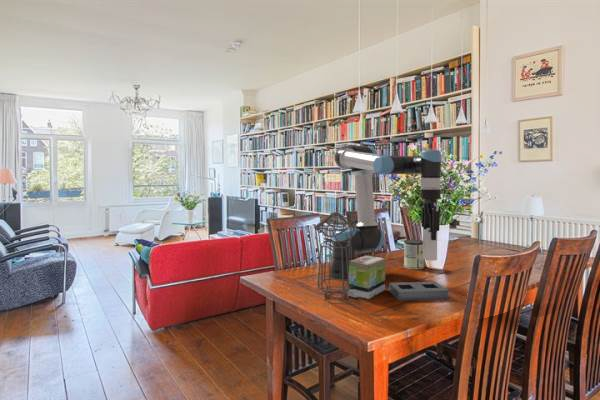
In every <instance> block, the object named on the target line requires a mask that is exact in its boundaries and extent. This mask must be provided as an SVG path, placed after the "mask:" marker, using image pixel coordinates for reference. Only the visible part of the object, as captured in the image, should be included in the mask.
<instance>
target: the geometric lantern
mask: <svg viewBox="0 0 600 400" xmlns="http://www.w3.org/2000/svg"><path fill="white" fill-rule="evenodd" d="M329 220H330V221H329ZM339 220H340V222H339ZM357 223H358V222H356V221H354V220H352V219H350V218H349V217H346V216H345V215H342V214H341V213H339V211H338V212H337V211H332V212H331V213H329V215H327V216H326V217H325V218H324V219H322V220H320V222H318V223H317V224H316V225H314V226H313V229H314V230H316V231H317V235H318V242H319V257H318V259H319V260H318V275H317V288H318V289H319V290H320V291H322V292H323V293H324V296H323V297H324V298H327V299H328V298H329V299H330V298H331V299H342V300H343V299H345V298H346V296H347V295H348V290H349V289H350V288H351V286H350V287H349V273H348V258H347V247H348V246H349V261H350V252H351V260H352V248H351V239H352V234H353V232H354V229H355V227H356V224H357ZM325 224H326V225H327V226H326V227H324V225H325ZM339 225H342V228H343V229H339V228H338V227H339ZM329 227H331V228H333V229H329ZM344 227H346V228H345V229H344ZM348 228H350V237H351V238H348V236H347V235H346V236H347V238H348V241H338V240H337V238H336V237H335V236H337V235H339V234H341V233H343V232H345V231H346V230H349V229H348ZM352 228H353V231H352ZM324 230H325V231H324ZM336 231H342V232H340V233H338V234H336V235H334V234H335V232H336ZM328 232H332V235H328ZM322 233H323V235H324V237H325V240H324V241H323V242H322V243H321V236H320V234H322ZM345 234H346V233H345ZM333 237H335V239H336V240H337V241H334V242H338V243H339V242H348V243H347V246H346V247H342V246H341V244H340V243H339V245H340V247H333V245H332V238H333ZM328 243H329V245H328ZM323 248H325V249H323ZM327 248H329V250H328V252H329V257H328V259H329V261H328V263H329V264H328V278H326V267H327V266H326V265H327ZM333 248H341V254H342V279H339V278H332V277H331V276H330V267H331V258H332V256H331V253H332V251H331V249H333ZM343 248H346V263H347V279H344V273H343ZM323 250H324V251H323ZM323 253H324V254H323ZM323 257H324V258H323ZM323 259H324V260H323ZM323 262H324V264H323ZM323 266H324V267H323ZM320 273H321V274H320ZM320 277H321V279H320ZM320 280H321V281H320ZM330 280H331V281H340V282H342V286H338V288H337V285H335V286H334V285H333V286H331V283H330ZM326 281H327V282H328V284H327V282H326ZM345 282H346V284H345ZM323 283H324V285H325V286H326V287H323ZM339 288H340V289H339ZM329 291H331V292H329ZM328 294H332V295H333V294H334V295H341V297H339V296H337V297H335V296H328Z"/></svg>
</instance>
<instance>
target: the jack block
mask: <svg viewBox="0 0 600 400" xmlns="http://www.w3.org/2000/svg"><path fill="white" fill-rule="evenodd" d="M388 291H389V293H390V294H391V295H392V296H393V297H394V298H395V299H396V300H397V301H398V302H401V301H404V302H406V301H430V300H431V301H433V300H437V301H438V300H449V297H450V296H449V289H447V288H446V287H444V285H441V284H440V283H439V282H437V281H412V282H411V281H409V282H407V281H405V282H404V281H403V282H389V283H388Z"/></svg>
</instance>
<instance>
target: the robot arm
mask: <svg viewBox="0 0 600 400" xmlns="http://www.w3.org/2000/svg"><path fill="white" fill-rule="evenodd" d="M334 162H335V164H336V166H338V167H339V168H342V169H348V170H349V169H350V170H351V174H352V175H353V176H354V183H355V198H356V199H355V200H356V213H357V222H356V223H357V224H356V227H355V229H354V232H353V234H352V239H351V248H352V260H354V259H357V254H359V253H368V252H370V253H371V252H376V251H379V250H380V249H381V248H382V247H383V245H384V242H385V233H384V232H383V229H381V228H380V227H379V224H378V223H377V222H376V215H375V204H374V190H373V188H374V187H373V177H372V176H373V173H376V174H377V175H383V176H386V175H420V188H421V190H420V198H421V199H423V200H424V202H423V203H421V204H420V209H421V228H422V230H423V229H427V228H430V230H429V231H428V232H429V248H436V232H437V233H438V231H439V232H440V223H441V222H440V221H441V219H440V216H441V206H440V205H438V201H437V200H439V199H441V193H442V192H441V183H442V179H441V178H442V177H441V176H442V152H441V151H440V149H424V150H422V151H421V153H420V155H387V154H378V152H377V150H376V149H375V148H374V147H372V146H367V145H342V146H340V147H339V148H338V149H336V151H335V153H334ZM345 228H346V227H345V226H344V229H345ZM338 229H343V227H339V228H338ZM348 229H349V230H346V231H345V232H343V233H341V234H339V235H337V236H335V237H336V238H337V240H338V241H348V238H351V237H350V228H348ZM352 231H353V228H352ZM340 232H342V231H336V232H335V234H334V235H336V234H338V233H340ZM345 233H346V234H345ZM346 235H347V236H348V238H347V236H346ZM335 237H332V239H331V241H332V261H331V262H330V278H333V279H342V254H341V248H333V247H340V245H339V243H340V244H341V246H342V247H346V246H347V243H348V242H339V243H338V242H334V241H337V240H336V239H335ZM347 258H348V273H349V246H348V247H347ZM350 261H351V252H350ZM343 273H344V280H348V279H347V263H346V248H343Z"/></svg>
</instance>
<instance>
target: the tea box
mask: <svg viewBox="0 0 600 400" xmlns="http://www.w3.org/2000/svg"><path fill="white" fill-rule="evenodd" d="M386 267H387V259H386V258H383V257H378V256H371V255H363V256H360V257H358V258H357V257H356V259H354V260H351V261H349V287H350V286H351V288H350V289H349V290H348V291H347V296H348V297H351V298H354V299H355V298H356V299H358V298H363V299H367V300H369V299H371V298H373V297H374V296H377V295H378V294H380V293H381V292H383V291H385V289H386V273H387V272H386Z"/></svg>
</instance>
